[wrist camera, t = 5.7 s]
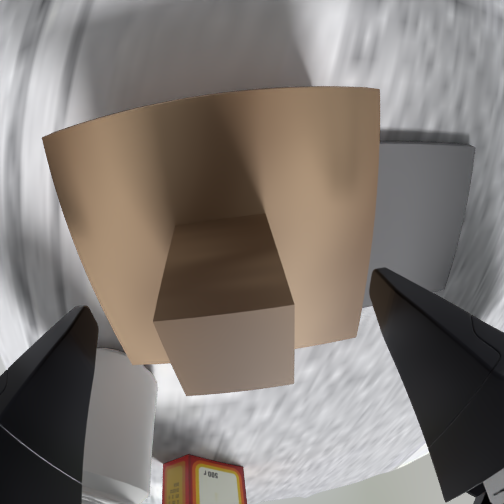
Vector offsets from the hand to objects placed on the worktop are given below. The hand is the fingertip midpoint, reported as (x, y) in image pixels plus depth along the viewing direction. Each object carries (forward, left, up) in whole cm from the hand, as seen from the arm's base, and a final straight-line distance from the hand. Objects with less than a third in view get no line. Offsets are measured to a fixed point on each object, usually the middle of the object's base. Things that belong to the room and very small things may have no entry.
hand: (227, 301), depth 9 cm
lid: (0, 0, -3) cm, 3 cm away
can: (+11, +13, -8) cm, 19 cm away
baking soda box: (+9, +38, -8) cm, 40 cm away
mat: (-11, +3, -8) cm, 14 cm away
